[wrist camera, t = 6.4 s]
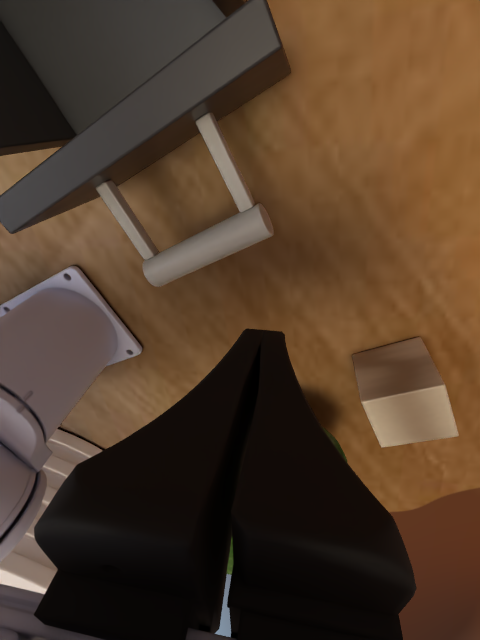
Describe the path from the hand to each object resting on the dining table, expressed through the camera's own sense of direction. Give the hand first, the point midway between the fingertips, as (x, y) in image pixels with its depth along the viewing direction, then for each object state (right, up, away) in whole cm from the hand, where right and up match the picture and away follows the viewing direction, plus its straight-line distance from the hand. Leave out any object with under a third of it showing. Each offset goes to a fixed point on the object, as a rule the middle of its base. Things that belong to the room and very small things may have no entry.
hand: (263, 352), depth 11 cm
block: (+10, -2, +11) cm, 15 cm away
